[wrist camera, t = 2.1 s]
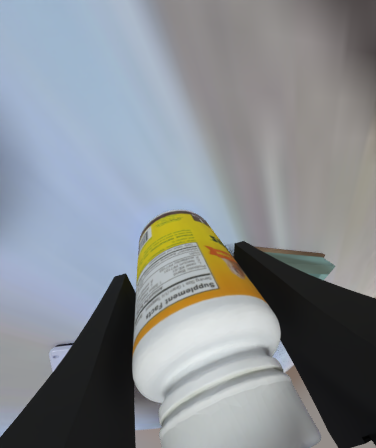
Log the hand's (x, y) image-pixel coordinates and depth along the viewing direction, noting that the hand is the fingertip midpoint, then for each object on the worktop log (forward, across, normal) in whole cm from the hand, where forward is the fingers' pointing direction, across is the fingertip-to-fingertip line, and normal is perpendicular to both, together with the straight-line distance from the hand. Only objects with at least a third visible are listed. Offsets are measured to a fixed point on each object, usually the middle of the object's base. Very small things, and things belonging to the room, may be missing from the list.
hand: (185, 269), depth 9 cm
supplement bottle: (+4, 0, 0) cm, 4 cm away
